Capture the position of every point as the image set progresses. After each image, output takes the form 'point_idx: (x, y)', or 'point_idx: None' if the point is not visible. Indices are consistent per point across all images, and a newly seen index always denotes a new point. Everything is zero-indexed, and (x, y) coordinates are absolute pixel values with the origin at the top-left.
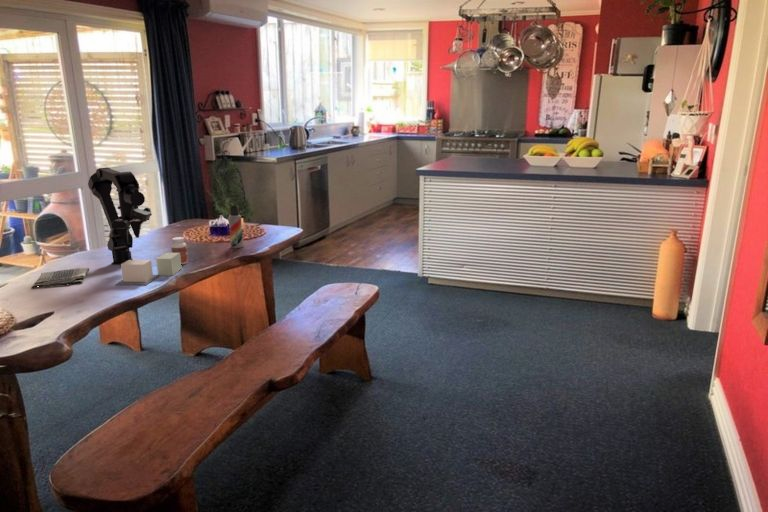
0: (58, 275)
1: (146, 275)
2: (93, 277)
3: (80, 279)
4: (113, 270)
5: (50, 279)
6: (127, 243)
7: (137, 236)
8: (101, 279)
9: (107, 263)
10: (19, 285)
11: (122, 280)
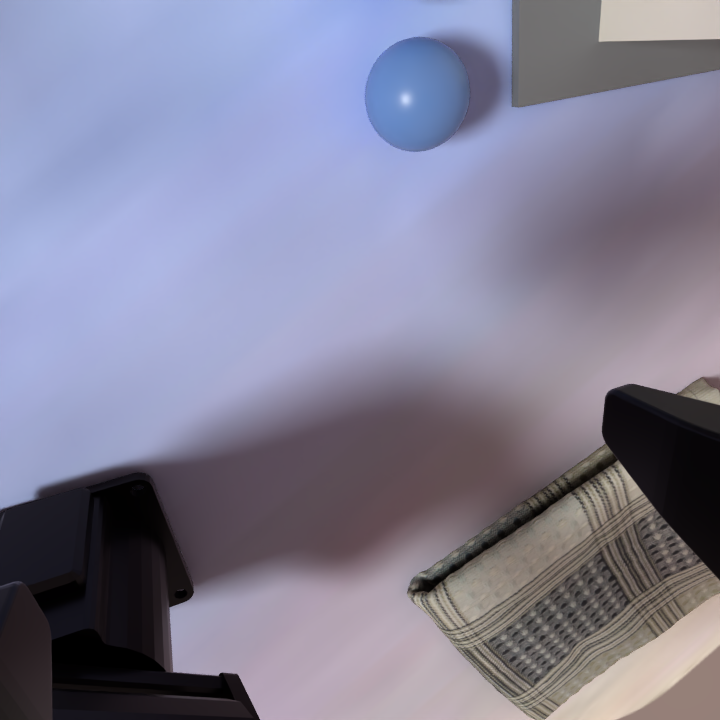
0: (600, 608)
1: None
2: (567, 418)
3: None
4: (367, 421)
5: (658, 585)
6: (59, 696)
7: (28, 624)
8: (620, 316)
9: (174, 636)
10: (682, 643)
11: (711, 55)
